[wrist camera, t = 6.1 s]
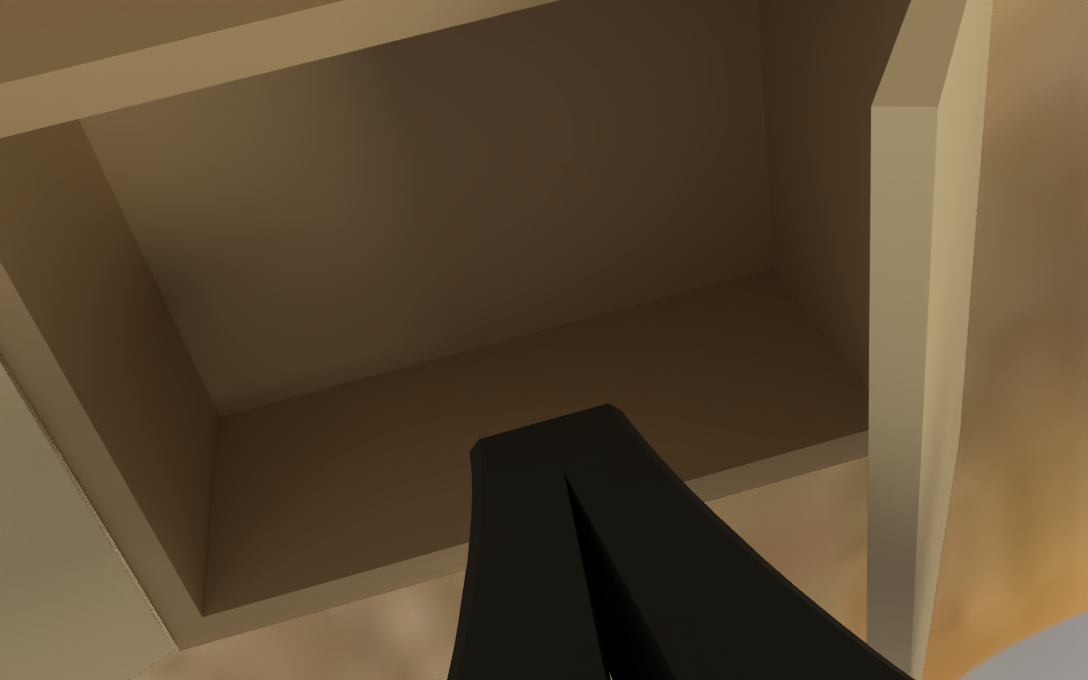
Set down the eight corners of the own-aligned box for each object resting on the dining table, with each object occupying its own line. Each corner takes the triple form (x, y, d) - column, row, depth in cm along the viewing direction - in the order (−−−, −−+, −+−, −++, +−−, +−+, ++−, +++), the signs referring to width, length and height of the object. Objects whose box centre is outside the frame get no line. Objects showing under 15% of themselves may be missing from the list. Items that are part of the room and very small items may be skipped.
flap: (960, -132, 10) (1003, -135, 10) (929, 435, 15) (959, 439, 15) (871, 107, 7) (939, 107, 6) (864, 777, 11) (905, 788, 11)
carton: (768, -207, 15) (956, -150, 10) (789, 270, 19) (926, 439, 15) (-16, -21, 14) (-142, 118, 10) (203, 428, 18) (180, 650, 14)
